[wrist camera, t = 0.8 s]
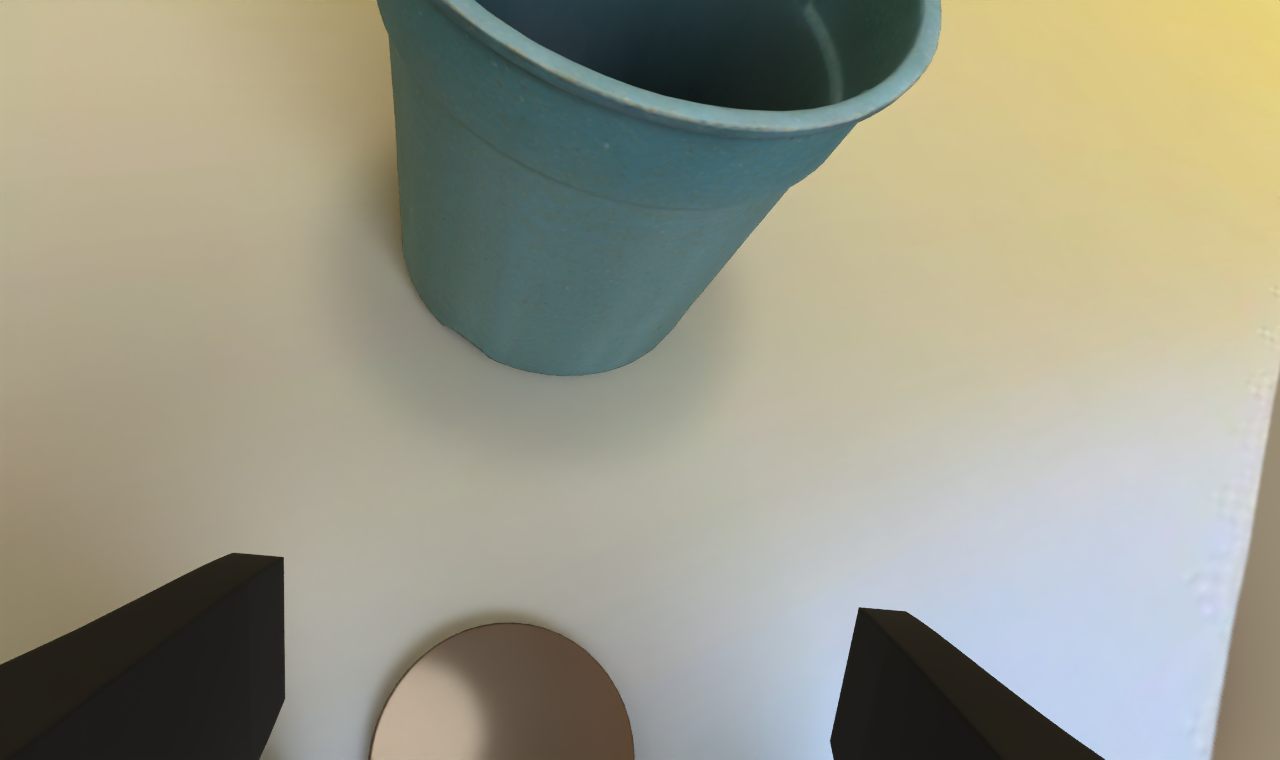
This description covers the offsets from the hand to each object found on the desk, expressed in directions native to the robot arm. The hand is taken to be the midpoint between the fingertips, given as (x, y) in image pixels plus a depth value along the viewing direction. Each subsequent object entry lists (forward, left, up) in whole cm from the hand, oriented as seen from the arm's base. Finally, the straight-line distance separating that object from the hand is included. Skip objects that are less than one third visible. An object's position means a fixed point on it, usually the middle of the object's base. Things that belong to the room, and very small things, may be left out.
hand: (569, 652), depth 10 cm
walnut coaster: (+1, -1, -17) cm, 18 cm away
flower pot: (+16, +12, -18) cm, 27 cm away
